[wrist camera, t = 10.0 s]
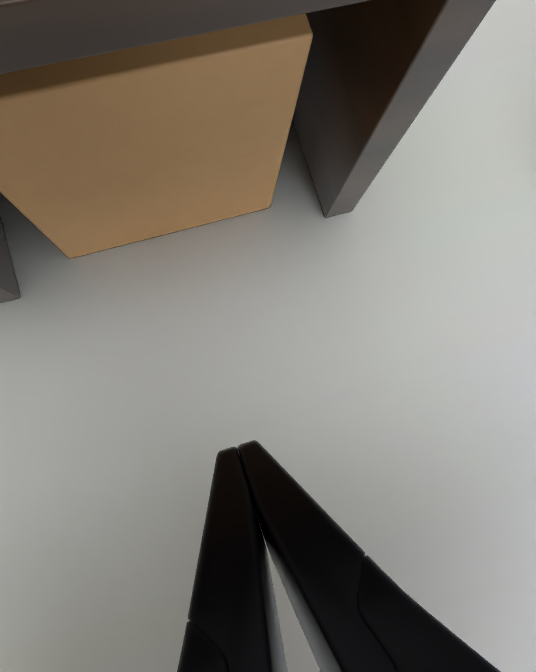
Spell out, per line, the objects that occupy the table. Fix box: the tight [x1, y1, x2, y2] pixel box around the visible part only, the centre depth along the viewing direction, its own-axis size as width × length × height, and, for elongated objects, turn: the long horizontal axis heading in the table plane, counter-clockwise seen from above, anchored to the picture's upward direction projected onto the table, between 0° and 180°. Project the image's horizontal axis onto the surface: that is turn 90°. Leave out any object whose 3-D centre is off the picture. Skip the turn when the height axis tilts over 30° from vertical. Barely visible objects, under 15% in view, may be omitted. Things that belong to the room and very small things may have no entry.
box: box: [0, 13, 313, 258], centre depth 14 cm, size 10×8×9 cm
